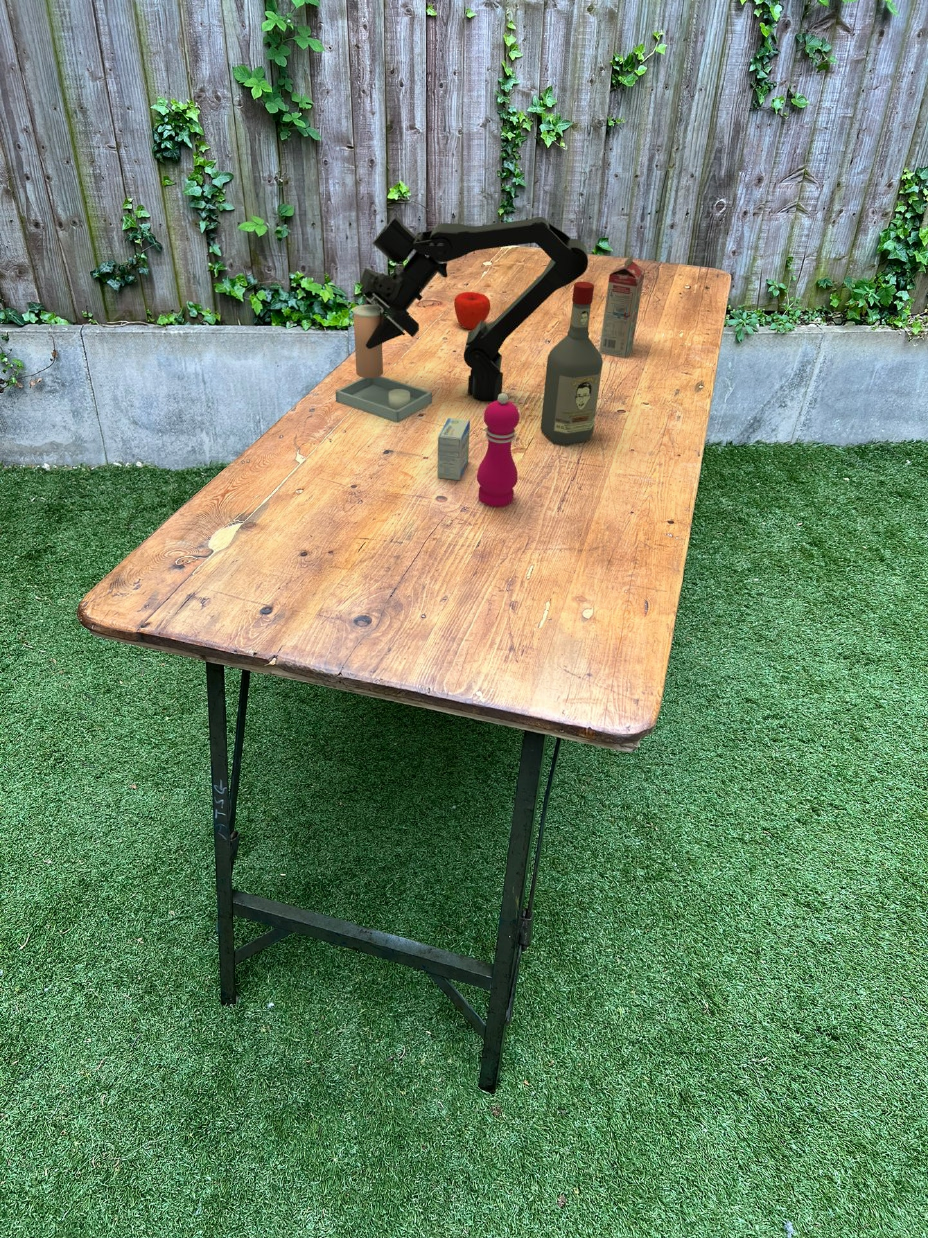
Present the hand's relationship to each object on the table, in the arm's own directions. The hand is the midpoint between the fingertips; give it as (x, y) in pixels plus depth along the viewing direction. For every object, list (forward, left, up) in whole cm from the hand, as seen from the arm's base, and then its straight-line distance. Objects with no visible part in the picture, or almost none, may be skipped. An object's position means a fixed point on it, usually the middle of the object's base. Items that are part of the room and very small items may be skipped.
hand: (362, 342), depth 185 cm
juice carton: (-29, -61, -13) cm, 69 cm away
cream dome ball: (-8, -2, -12) cm, 15 cm away
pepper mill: (-43, +16, -13) cm, 48 cm away
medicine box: (-31, +12, -13) cm, 36 cm away
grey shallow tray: (-4, -2, -13) cm, 14 cm away
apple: (+7, -52, -13) cm, 54 cm away
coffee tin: (-1, -1, -7) cm, 7 cm away
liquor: (-41, -14, -13) cm, 45 cm away
